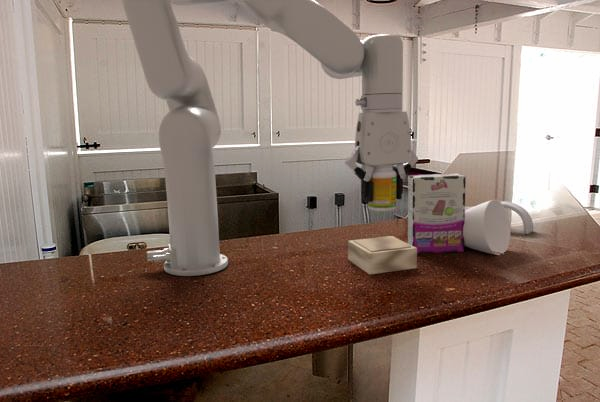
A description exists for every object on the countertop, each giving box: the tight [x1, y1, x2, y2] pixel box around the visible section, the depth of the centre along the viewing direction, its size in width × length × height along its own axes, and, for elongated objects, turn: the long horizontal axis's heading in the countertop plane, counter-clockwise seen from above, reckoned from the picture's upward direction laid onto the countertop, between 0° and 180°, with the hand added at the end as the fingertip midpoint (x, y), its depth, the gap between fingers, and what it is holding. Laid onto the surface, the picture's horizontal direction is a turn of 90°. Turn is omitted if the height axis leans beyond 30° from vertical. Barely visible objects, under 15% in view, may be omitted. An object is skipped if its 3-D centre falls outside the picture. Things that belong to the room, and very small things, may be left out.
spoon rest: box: [465, 200, 534, 235], centre depth 124 cm, size 24×12×7 cm, turn 50°
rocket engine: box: [463, 199, 511, 256], centre depth 107 cm, size 12×12×18 cm
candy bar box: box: [407, 172, 467, 254], centre depth 103 cm, size 11×5×16 cm, turn 92°
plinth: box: [347, 235, 418, 275], centre depth 96 cm, size 10×10×4 cm
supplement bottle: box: [367, 165, 397, 212], centre depth 93 cm, size 5×5×10 cm
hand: (382, 198), depth 94 cm, fingers closed on supplement bottle, 5 cm apart
